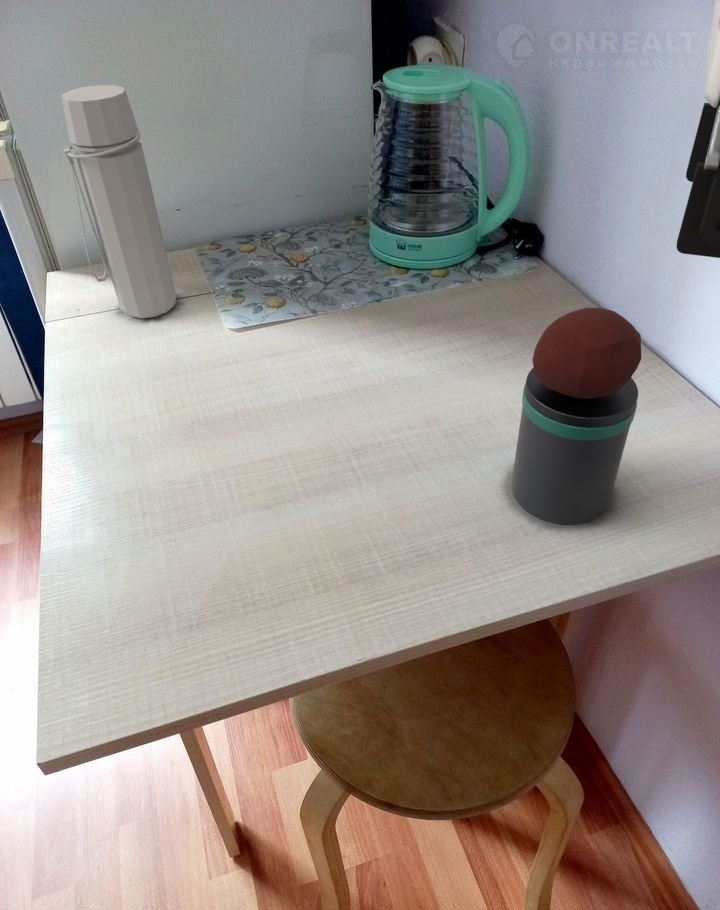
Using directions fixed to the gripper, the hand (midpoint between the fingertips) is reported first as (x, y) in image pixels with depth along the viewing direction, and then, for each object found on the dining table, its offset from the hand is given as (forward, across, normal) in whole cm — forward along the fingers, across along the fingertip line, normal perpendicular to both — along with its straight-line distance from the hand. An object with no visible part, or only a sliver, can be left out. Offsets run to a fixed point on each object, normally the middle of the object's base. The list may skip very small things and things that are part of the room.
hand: (713, 214), depth 36 cm
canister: (+28, +8, +5) cm, 30 cm away
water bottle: (+28, +24, +60) cm, 71 cm away
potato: (+17, +8, +5) cm, 20 cm away
